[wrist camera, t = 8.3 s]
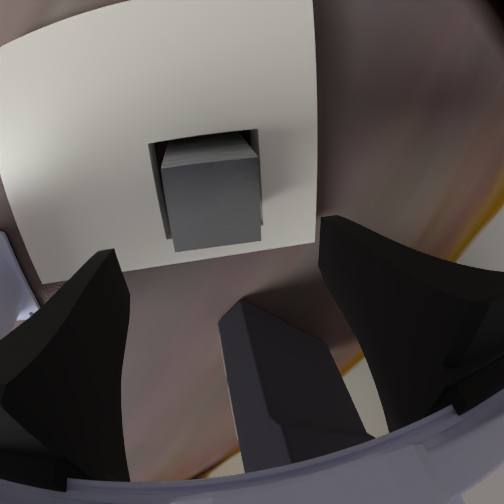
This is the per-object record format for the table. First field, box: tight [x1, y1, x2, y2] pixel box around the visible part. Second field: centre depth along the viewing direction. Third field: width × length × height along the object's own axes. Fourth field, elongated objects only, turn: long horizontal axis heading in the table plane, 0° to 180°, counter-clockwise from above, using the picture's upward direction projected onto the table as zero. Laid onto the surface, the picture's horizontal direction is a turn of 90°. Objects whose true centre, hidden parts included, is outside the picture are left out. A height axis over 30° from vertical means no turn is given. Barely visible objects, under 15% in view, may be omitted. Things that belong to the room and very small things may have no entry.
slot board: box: [0, 0, 317, 284], centre depth 16 cm, size 18×15×2 cm
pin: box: [161, 131, 261, 252], centre depth 16 cm, size 4×4×6 cm
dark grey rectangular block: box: [218, 300, 376, 473], centre depth 21 cm, size 11×4×15 cm, turn 48°
